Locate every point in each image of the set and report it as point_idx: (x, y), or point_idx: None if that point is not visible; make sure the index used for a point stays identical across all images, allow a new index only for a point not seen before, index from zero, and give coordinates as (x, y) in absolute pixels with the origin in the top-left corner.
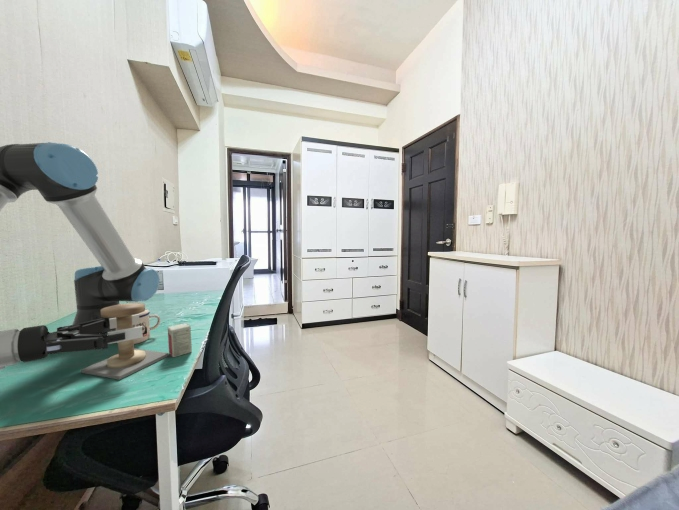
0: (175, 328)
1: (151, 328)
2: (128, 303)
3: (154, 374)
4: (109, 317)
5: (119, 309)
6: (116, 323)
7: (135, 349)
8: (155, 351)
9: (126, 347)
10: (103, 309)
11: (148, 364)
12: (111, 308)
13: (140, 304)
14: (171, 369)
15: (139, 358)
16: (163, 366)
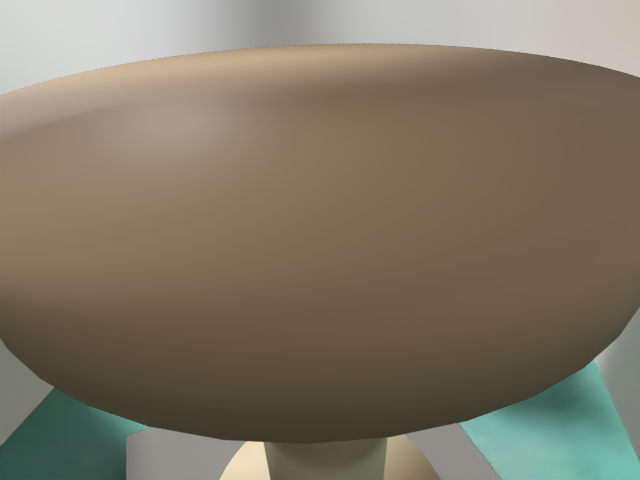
0: None
1: None
2: (118, 68)
3: (634, 466)
4: (626, 320)
5: (494, 100)
6: (15, 369)
7: (162, 433)
8: None
9: (383, 476)
10: (120, 209)
11: (469, 448)
12: (229, 135)
13: (333, 48)
14: (597, 390)
15: (424, 461)
16: (530, 403)
